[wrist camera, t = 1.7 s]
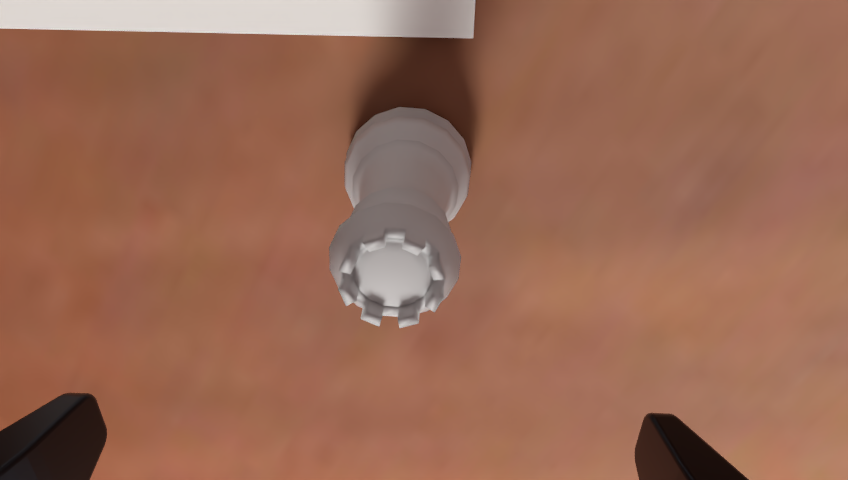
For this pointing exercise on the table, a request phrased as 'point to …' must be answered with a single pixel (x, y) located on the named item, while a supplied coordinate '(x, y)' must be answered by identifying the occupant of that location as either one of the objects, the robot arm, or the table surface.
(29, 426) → the robot arm
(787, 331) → the table surface
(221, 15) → the peg board
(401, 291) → the rook chess piece
